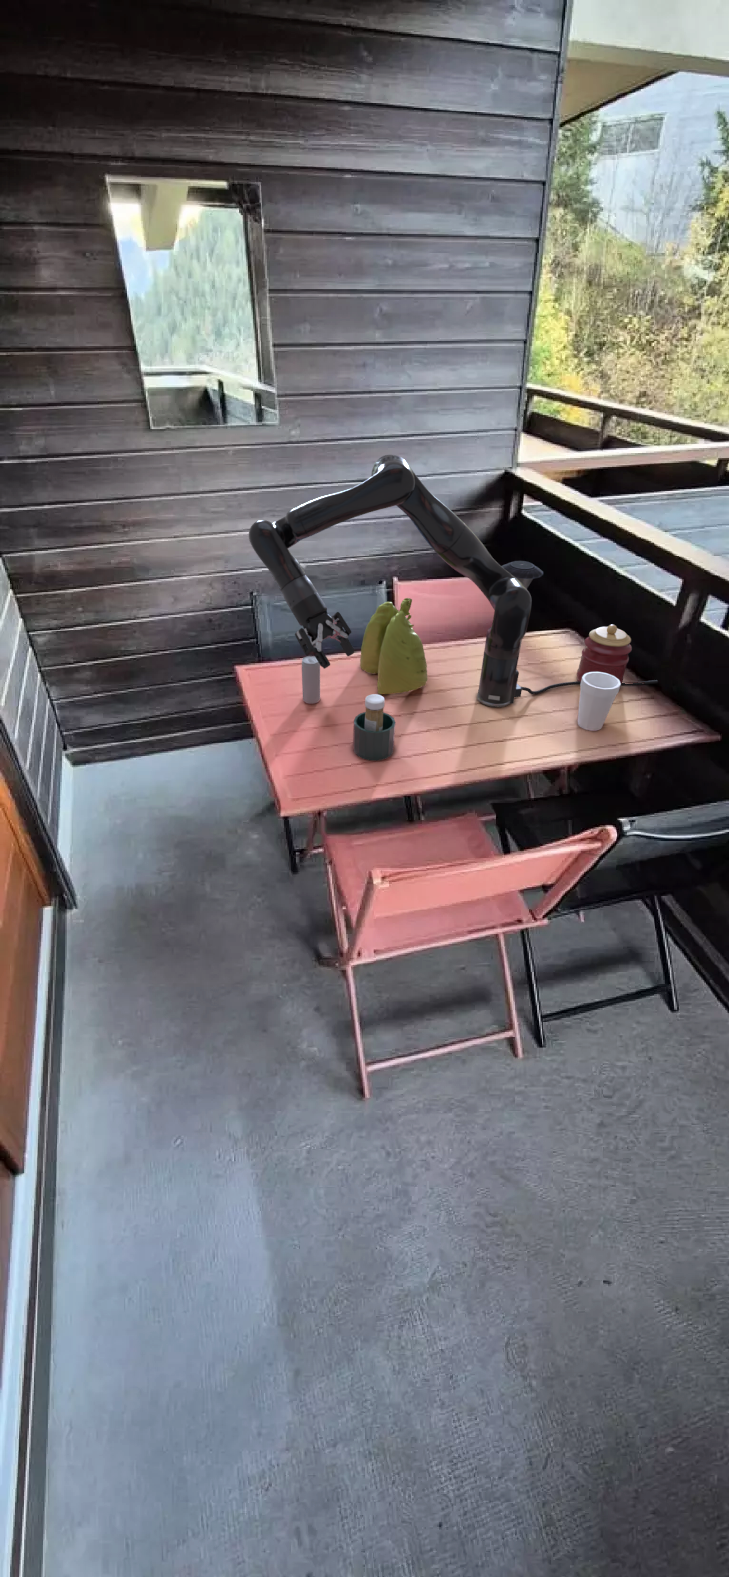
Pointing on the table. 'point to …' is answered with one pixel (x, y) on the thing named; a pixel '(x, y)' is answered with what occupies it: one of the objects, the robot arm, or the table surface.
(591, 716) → the foam cup
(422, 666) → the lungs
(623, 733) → the table surface
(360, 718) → the cup
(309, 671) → the beverage can
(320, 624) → the robot arm
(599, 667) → the kitchen canister
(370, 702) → the sprinkles bottle
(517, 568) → the solar garden light
